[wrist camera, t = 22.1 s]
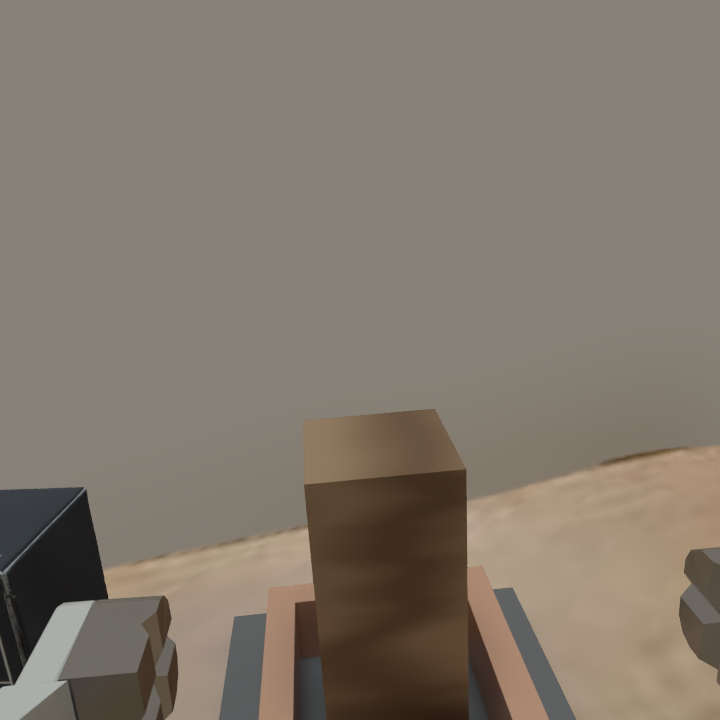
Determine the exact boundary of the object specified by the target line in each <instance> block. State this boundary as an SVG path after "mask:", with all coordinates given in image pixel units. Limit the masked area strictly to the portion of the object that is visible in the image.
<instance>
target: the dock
mask: <svg viewBox="0 0 720 720" xmlns="http://www.w3.org/2000/svg"><path fill="white" fill-rule="evenodd" d="M467 588H468V679H469V720H576V718H575V716H574V714H573V712H572V710H571V708H570V706H569V704H568V702H567V700H566V698H565V696H564V693H563V691H562V689H561V687H560V685H559V683H558V681H557V679H556V677H555V675H554V673H553V671H552V669H551V667H550V664H549V662H548V660H547V658H546V656H545V654H544V652H543V650H542V648H541V646H540V644H539V642H538V640H537V638H536V635H535V633H534V631H533V629H532V627H531V625H530V623H529V621H528V619H527V617H526V615H525V613H524V611H523V609H522V606H521V604H520V602H519V600H518V598H517V596H516V594H515V592H514V590H513V588H503V589H492V587H491V585H490V583H489V580H488V578H487V576H486V573H485V571H484V569H483V567H482V566H478V567H468V568H467ZM219 720H327V718H326V708H325V697H324V687H323V676H322V666H321V656H320V645H319V635H318V624H317V614H316V604H315V593H314V583H313V584H303V585H293V586H284V587H274V588H269V591H268V604H267V613H266V614H256V615H247V616H237V617H234V623H233V630H232V636H231V643H230V650H229V657H228V664H227V670H226V677H225V684H224V691H223V698H222V704H221V711H220V718H219Z"/></svg>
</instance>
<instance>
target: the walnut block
mask: <svg viewBox="0 0 720 720" xmlns="http://www.w3.org/2000/svg"><path fill="white" fill-rule="evenodd" d="M303 426H304V427H303V431H304V488H305V499H306V510H307V520H308V531H309V541H310V552H311V562H312V572H313V583H314V593H315V604H316V614H317V624H318V635H319V645H320V656H321V666H322V676H323V687H324V697H325V708H326V718H327V720H469V679H468V588H467V497H466V468H465V466H464V464H463V462H462V460H461V458H460V457H459V455H458V453H457V451H456V449H455V447H454V445H453V443H452V441H451V439H450V437H449V435H448V433H447V432H446V430H445V428H444V426H443V424H442V422H441V420H440V418H439V416H438V414H437V412H436V411H435V409H428V410H417V411H407V412H406V411H405V412H394V413H383V414H372V415H361V416H349V417H338V418H327V419H316V420H304V421H303Z"/></svg>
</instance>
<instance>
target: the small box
mask: <svg viewBox="0 0 720 720" xmlns="http://www.w3.org/2000/svg"><path fill="white" fill-rule="evenodd" d="M104 599H108V594H107V589H106V584H105V580H104V574H103V570H102V566H101V560H100V556H99V551H98V545H97V540H96V536H95V532H94V528H93V523H92V518H91V514H90V508H89V504H88V498H87V491H86V488H85V487H79V488H78V487H77V488H48V489H17V490H0V689H1V688H2V687H4V686H13V685H15V683H16V681H17V679H18V677H19V676H20V674H21V672H22V670H23V668H24V666H25V665H26V663H27V661H28V659H29V657H30V655H31V653H32V652H33V650H34V648H35V646H36V644H37V642H38V640H39V639H40V637H41V635H42V633H43V631H44V629H45V628H46V626H47V624H48V622H49V620H50V618H51V616H52V615H53V613H54V611H55V609H56V608H57V607H58V606H60V605H61V604H63V603H68V602H80V601H92V600H94V601H97V600H104Z"/></svg>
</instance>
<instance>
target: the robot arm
mask: <svg viewBox="0 0 720 720" xmlns="http://www.w3.org/2000/svg"><path fill="white" fill-rule="evenodd" d="M684 574H685V575H686V576H687V578H688V579H689V581H690V582H691V583H692V584H691V585H690V586H689V587H688V588H687V589H686V591H685V592H684V593H683V594H682V595H681V597H680V609H679V617H680V622H681V626H682V631H683V634H684V636H685V638H686V640H687V642H688V644H689V646H690V648H691V649H692V650H693V652H694V653H695V654H696V656H697V657H698V658H699V659H700V660H702V661H704V662H705V663H707V664H709V665H711V666H713V667H714V668H716V669H718V672H717V683H718V684H719V685H720V547H717V548H707V549H696V550H691V551H690V552H689V554H688V556H687V558H686V561H685V568H684ZM170 622H171V614H170V609H169V603H168V600H167V599H166V597H165V596H150V597H135V598H120V599H104V600H97V601H94V600H92V601H80V602H68V603H63V604H61V605H60V606H58V607H57V608H56V609H55V611H54V613H53V615H52V616H51V618H50V620H49V622H48V624H47V626H46V628H45V629H44V631H43V633H42V635H41V637H40V639H39V640H38V642H37V644H36V646H35V648H34V650H33V652H32V653H31V655H30V657H29V659H28V661H27V663H26V665H25V666H24V668H23V670H22V672H21V674H20V676H19V677H18V679H17V681H16V683H15V685H13V686H4V687H2V688H1V689H0V720H165V719H166V718H167V717H168V716H169V715H170V714H171V713H172V712H173V708H174V703H175V699H176V693H177V680H178V663H177V652H176V645H175V643H174V642H173V641H172V640H171V639H170V638H169V637H168V636H167V633H168V630H169V626H170Z"/></svg>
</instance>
